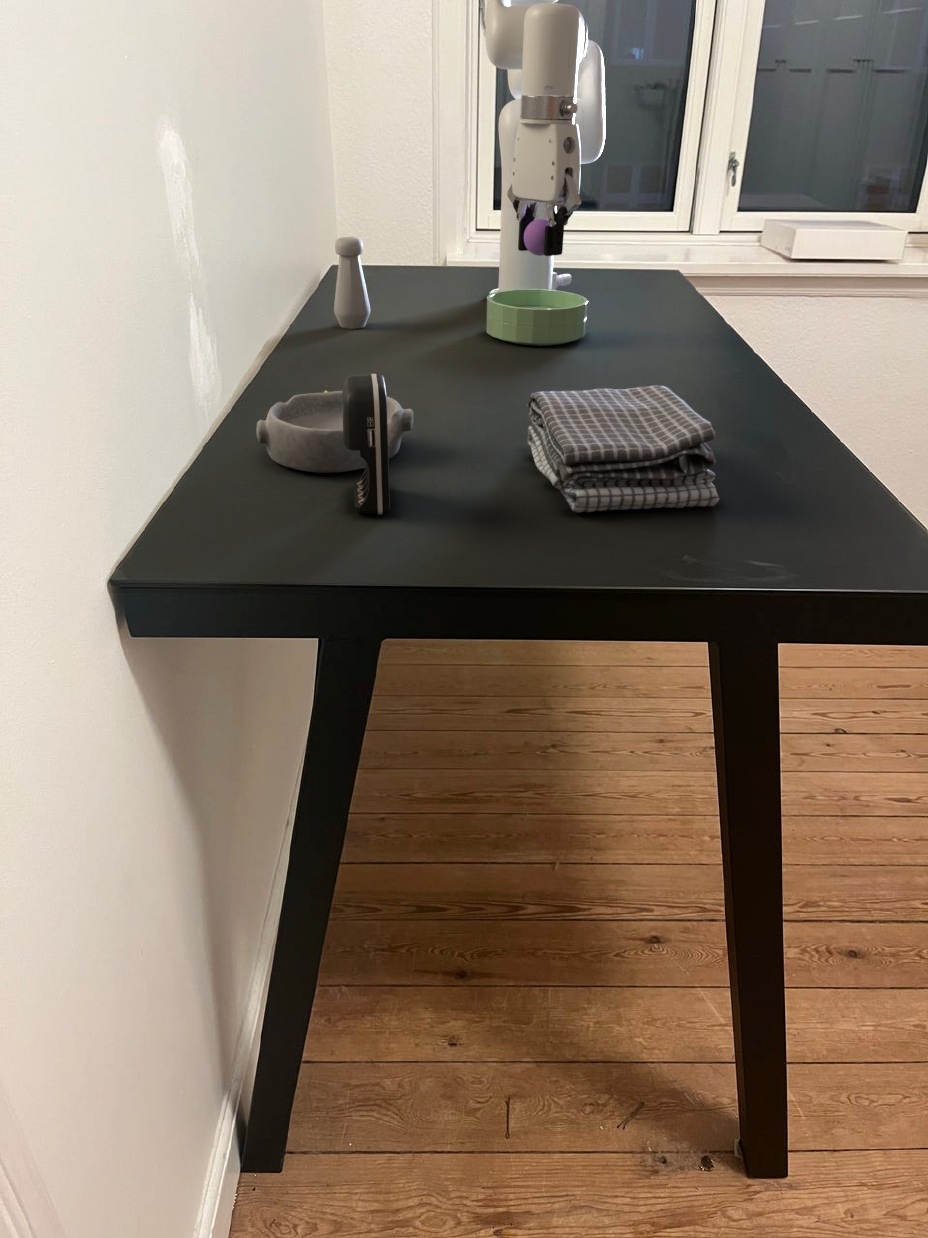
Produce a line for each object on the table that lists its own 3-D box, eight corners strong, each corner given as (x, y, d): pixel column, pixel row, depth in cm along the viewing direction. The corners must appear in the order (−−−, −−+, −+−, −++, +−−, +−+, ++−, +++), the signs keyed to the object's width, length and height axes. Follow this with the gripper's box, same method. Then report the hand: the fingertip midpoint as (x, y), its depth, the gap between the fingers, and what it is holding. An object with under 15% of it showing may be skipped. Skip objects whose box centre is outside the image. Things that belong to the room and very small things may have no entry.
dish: (425, 444, 98) (424, 398, 96) (359, 488, 87) (356, 438, 85) (311, 423, 103) (308, 380, 101) (235, 463, 92) (229, 415, 90)
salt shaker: (374, 322, 147) (371, 235, 140) (367, 330, 142) (364, 241, 136) (338, 320, 148) (334, 234, 141) (330, 329, 143) (325, 239, 136)
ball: (541, 251, 138) (543, 215, 136) (563, 256, 135) (566, 219, 132) (515, 254, 135) (517, 217, 133) (538, 258, 132) (540, 221, 130)
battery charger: (346, 488, 87) (340, 369, 81) (386, 487, 88) (382, 368, 82) (347, 519, 81) (340, 392, 75) (390, 517, 82) (386, 391, 76)
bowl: (539, 320, 150) (541, 285, 148) (605, 338, 140) (608, 301, 137) (466, 332, 142) (466, 295, 140) (530, 352, 132) (532, 313, 129)
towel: (656, 444, 99) (665, 372, 95) (721, 512, 84) (735, 429, 80) (519, 449, 97) (523, 376, 93) (560, 520, 82) (566, 435, 78)
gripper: (611, 113, 122) (598, 258, 131) (527, 110, 134) (521, 243, 143) (570, 113, 118) (560, 262, 127) (487, 109, 130) (484, 247, 139)
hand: (539, 251), depth 135 cm, fingers closed on ball, 4 cm apart
